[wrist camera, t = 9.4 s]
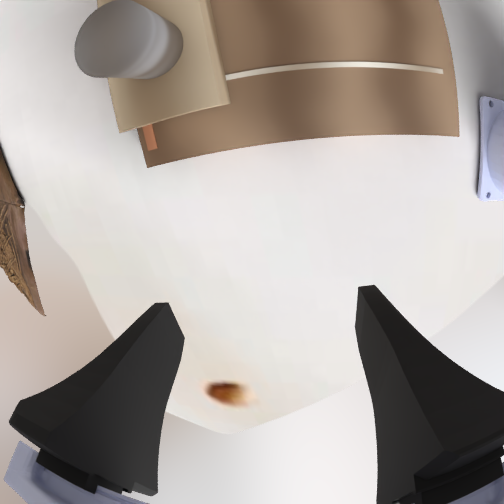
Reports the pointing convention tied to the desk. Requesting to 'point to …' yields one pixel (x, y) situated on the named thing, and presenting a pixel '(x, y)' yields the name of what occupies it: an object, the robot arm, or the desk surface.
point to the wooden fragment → (15, 239)
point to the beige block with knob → (154, 58)
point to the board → (319, 76)
